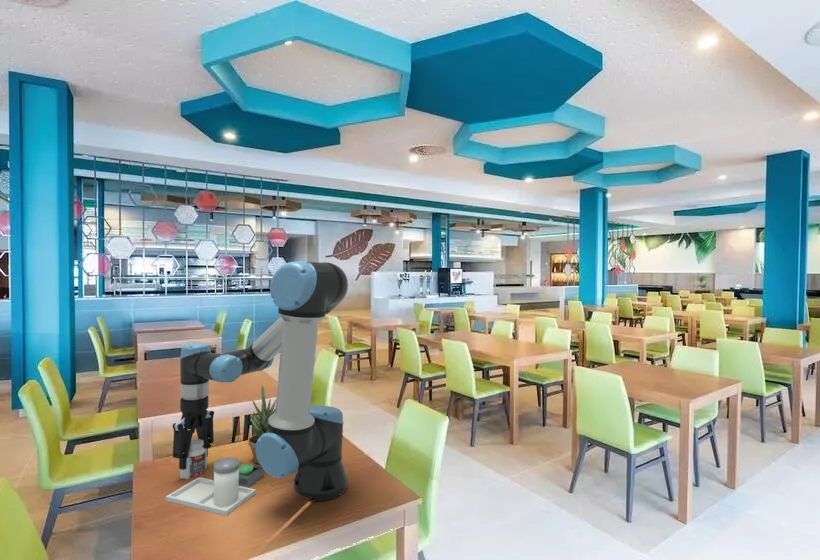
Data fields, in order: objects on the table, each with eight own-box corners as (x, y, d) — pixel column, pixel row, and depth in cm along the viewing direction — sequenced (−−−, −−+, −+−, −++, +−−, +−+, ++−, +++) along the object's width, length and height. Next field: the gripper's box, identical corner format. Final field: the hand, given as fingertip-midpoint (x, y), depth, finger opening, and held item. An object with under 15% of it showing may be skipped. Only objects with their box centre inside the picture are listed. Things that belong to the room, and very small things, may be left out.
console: (263, 480, 129) (263, 467, 128) (247, 492, 122) (247, 478, 122) (243, 476, 131) (243, 463, 131) (226, 487, 124) (227, 473, 124)
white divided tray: (258, 497, 120) (259, 488, 120) (225, 522, 107) (225, 513, 107) (199, 483, 126) (200, 475, 126) (161, 506, 113) (161, 497, 113)
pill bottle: (196, 481, 126) (196, 446, 126) (179, 479, 127) (179, 445, 127) (209, 472, 132) (209, 439, 131) (192, 470, 133) (192, 437, 133)
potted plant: (254, 453, 147) (256, 380, 147) (282, 454, 147) (284, 381, 146) (242, 466, 137) (244, 388, 137) (272, 467, 137) (274, 389, 136)
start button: (255, 471, 128) (256, 464, 127) (246, 477, 124) (246, 470, 124) (244, 469, 129) (244, 462, 129) (235, 475, 125) (235, 468, 125)
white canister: (243, 496, 117) (244, 459, 117) (227, 508, 111) (228, 469, 111) (224, 492, 119) (225, 456, 119) (207, 503, 113) (208, 465, 113)
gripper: (207, 387, 139) (207, 459, 139) (157, 403, 121) (156, 486, 122) (227, 389, 137) (226, 463, 137) (178, 406, 119) (178, 491, 119)
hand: (193, 474), depth 129 cm, fingers closed on pill bottle, 6 cm apart
